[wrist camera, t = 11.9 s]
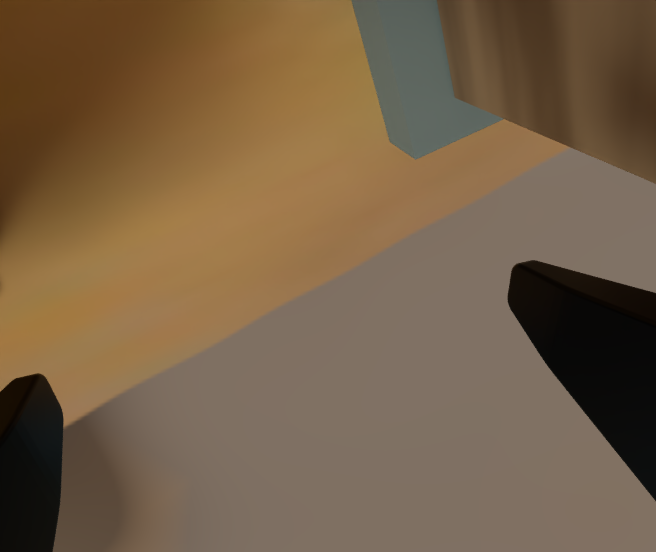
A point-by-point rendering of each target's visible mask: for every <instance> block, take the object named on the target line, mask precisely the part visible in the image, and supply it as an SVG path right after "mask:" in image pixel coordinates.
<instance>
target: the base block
mask: <svg viewBox="0 0 656 552" xmlns="http://www.w3.org/2000/svg"><path fill="white" fill-rule="evenodd" d="M352 4H353V8H354V11H355V15H356V19H357V22H358V26H359V30H360V33H361V37H362V41H363V44H364V48H365V52H366V56H367V59H368V63H369V67H370V70H371V74H372V78H373V81H374V85H375V89H376V92H377V96H378V100H379V103H380V107H381V111H382V114H383V118H384V122H385V125H386V129H387V133H388V137H389V140H390V142H391V143H392V144H394V145H395V146H397V147H398V148H399V149H401V150H402V151H404V152H405V153H407V154H408V155H410V156H411V157H413V158H414V159H418V158H420V157H422V156H424V155H427V154H429V153H431V152H433V151H435V150H437V149H440V148H442V147H444V146H446V145H448V144H450V143H453V142H455V141H457V140H459V139H461V138H463V137H466V136H468V135H470V134H472V133H474V132H477V131H479V130H481V129H483V128H485V127H487V126H490V125H492V124H494V123H496V122H498V121H500V120H503V118H501V117H499V116H496V115H494V114H492V113H489V112H487V111H485V110H482V109H480V108H478V107H475V106H473V105H470V104H468V103H466V102H463V101H461V100H459V99H456V98H455V96H454V91H453V85H452V80H451V75H450V69H449V64H448V58H447V53H446V48H445V42H444V37H443V31H442V26H441V20H440V15H439V10H438V4H437V0H352Z"/></svg>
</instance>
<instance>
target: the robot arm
mask: <svg viewBox="0 0 656 552" xmlns="http://www.w3.org/2000/svg"><path fill="white" fill-rule="evenodd" d="M508 304H509V307H510V309H511V311H512V312H513V313H514V315H515V317H516V318H517V320H518V321H519V323H520V324H521V326H522V328H523V329H524V331H525V332H526V334H527V335H528V337H529V339H530V340H531V342H532V343H533V345H534V346H535V348H536V349H537V351H538V353H539V354H540V356H541V357H542V358H543V360H544V361H545V363H546V364H547V366H548V367H549V368H550V370H551V371H552V372H553V374H554V375H555V376H556V377H557V379H558V380H559V381H560V382H561V383H562V385H563V386H564V387H565V389H566V390H567V391H568V392H569V394H570V395H571V396H572V397H573V399H574V400H575V401H576V402H577V404H578V405H579V406H580V407H581V409H582V410H583V411H584V412H585V414H586V415H587V416H588V417H589V419H590V420H591V421H592V422H593V424H594V425H595V426H596V427H597V429H598V430H599V431H600V432H601V433H602V435H603V436H604V437H605V438H606V440H607V441H608V442H609V443H610V445H611V446H612V447H613V448H614V450H615V451H616V452H617V453H618V455H619V456H620V457H621V458H622V460H623V461H624V462H625V463H626V464H627V466H628V467H629V468H630V470H631V471H632V472H633V473H634V475H635V476H636V477H637V478H638V480H639V481H640V482H641V483H642V485H643V486H644V487H645V488H646V490H647V491H648V492H649V493H650V495H651V496H652V497H653V498H654V500H655V501H656V293H653V292H650V291H646V290H642V289H639V288H635V287H631V286H628V285H624V284H620V283H616V282H613V281H609V280H605V279H602V278H598V277H594V276H591V275H587V274H583V273H580V272H576V271H572V270H568V269H565V268H561V267H558V266H554V265H550V264H547V263H543V262H539V261H535V260H531V261H526V262H522V263H518V264H516V265H515V266H514V267H513V268H512V271H511V278H510V285H509V291H508ZM62 444H63V412H62V409H61V406H60V404H59V402H58V400H57V398H56V396H55V394H54V392H53V390H52V388H51V386H50V384H49V382H48V381H47V379H46V377H45V376H44V375H42V374H39V373H38V374H33V375H28V376H24V377H20V378H16V379H14V380H13V381H11V382H10V383H9V384H8V385H7V386H6V387H5V388H4V389H3V390H2V391H1V392H0V552H53V546H54V540H55V534H56V527H57V521H58V515H59V507H60V497H61V476H62V448H63V445H62Z"/></svg>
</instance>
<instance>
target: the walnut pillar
mask: <svg viewBox="0 0 656 552" xmlns="http://www.w3.org/2000/svg"><path fill="white" fill-rule="evenodd" d="M437 4H438V10H439V15H440V20H441V26H442V31H443V37H444V42H445V48H446V53H447V58H448V64H449V69H450V75H451V80H452V85H453V91H454V96H455V98H456V99H459V100H461V101H463V102H466V103H468V104H470V105H473V106H475V107H478V108H480V109H482V110H485V111H487V112H489V113H492V114H494V115H496V116H499V117H501V118H503V119H506V120H508V121H510V122H513V123H515V124H517V125H520V126H522V127H524V128H527V129H529V130H531V131H534V132H536V133H538V134H541V135H543V136H545V137H548V138H550V139H552V140H555V141H557V142H559V143H562V144H564V145H566V146H569V147H571V148H573V149H576V150H578V151H580V152H583V153H585V154H588V155H590V156H592V157H595V158H597V159H599V160H602V161H604V162H606V163H609V164H611V165H613V166H616V167H618V168H620V169H623V170H625V171H627V172H630V173H632V174H634V175H637V176H639V177H641V178H644V179H646V180H648V181H651V182H653V183H655V184H656V0H437Z"/></svg>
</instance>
